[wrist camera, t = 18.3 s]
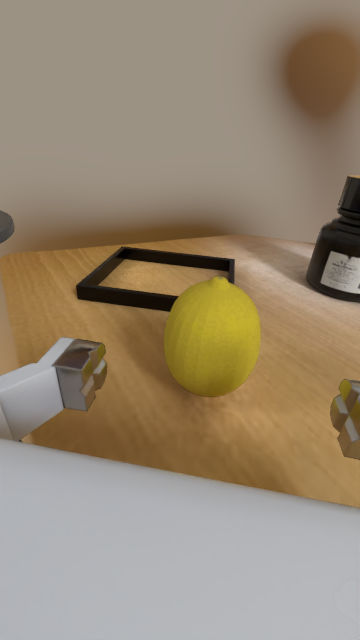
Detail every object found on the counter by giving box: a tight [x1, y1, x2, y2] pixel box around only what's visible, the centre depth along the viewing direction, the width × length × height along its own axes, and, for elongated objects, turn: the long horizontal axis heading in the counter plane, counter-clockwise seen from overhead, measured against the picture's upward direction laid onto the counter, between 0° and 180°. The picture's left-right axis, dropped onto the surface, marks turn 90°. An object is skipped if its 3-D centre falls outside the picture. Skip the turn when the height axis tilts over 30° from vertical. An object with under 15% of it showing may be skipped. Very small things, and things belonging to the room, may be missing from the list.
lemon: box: [164, 276, 261, 397], centre depth 17 cm, size 6×6×8 cm
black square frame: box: [76, 247, 235, 311], centre depth 33 cm, size 15×13×2 cm
